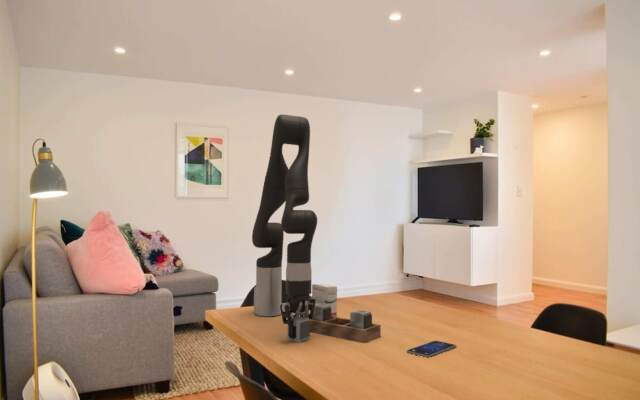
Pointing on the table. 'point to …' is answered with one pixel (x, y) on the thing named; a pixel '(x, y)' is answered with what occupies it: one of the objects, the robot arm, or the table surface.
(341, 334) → the wooden compartment tray
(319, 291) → the ink box
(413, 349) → the smartphone
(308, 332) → the grey cube
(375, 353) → the table surface
